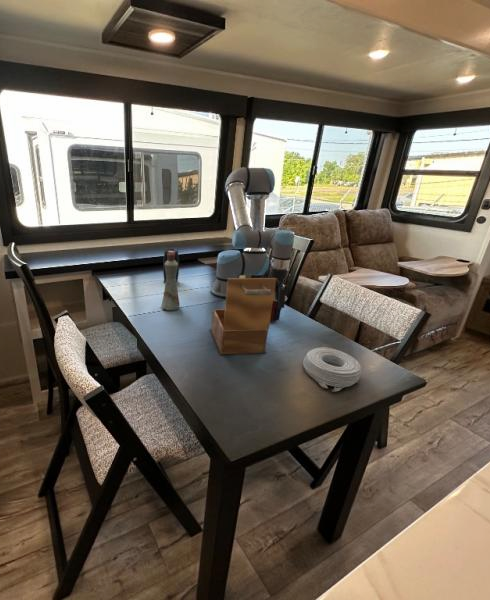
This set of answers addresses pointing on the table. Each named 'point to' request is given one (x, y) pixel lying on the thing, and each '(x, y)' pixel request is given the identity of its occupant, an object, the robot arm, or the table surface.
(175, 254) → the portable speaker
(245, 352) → the chest
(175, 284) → the bottle
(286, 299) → the plastic cup
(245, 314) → the lid
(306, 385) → the table surface
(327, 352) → the cable
